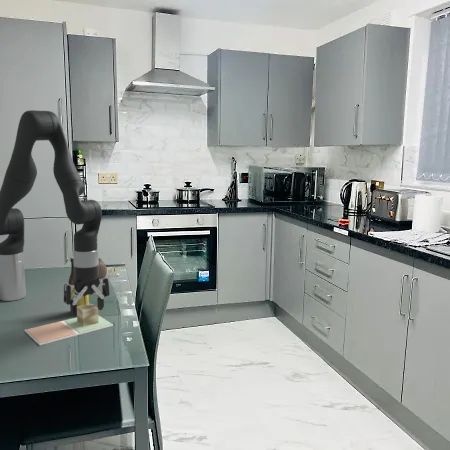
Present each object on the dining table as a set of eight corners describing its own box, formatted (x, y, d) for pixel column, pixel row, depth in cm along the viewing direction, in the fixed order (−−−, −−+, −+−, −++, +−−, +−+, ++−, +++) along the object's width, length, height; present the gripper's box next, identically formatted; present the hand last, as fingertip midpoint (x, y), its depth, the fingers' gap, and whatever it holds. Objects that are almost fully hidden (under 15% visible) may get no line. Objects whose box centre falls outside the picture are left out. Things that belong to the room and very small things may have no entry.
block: (83, 326, 140) (82, 311, 139) (77, 321, 144) (76, 306, 143) (98, 322, 143) (98, 308, 143) (92, 318, 147) (91, 303, 146)
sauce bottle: (82, 307, 158) (81, 253, 154) (93, 312, 154) (91, 256, 150) (66, 312, 153) (63, 256, 149) (76, 317, 149) (74, 259, 145)
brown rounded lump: (90, 276, 195) (89, 257, 193) (106, 275, 197) (106, 256, 195) (90, 281, 188) (90, 261, 187) (107, 280, 190) (107, 260, 189)
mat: (24, 331, 137) (24, 329, 137) (95, 314, 152) (95, 312, 152) (39, 345, 128) (39, 343, 127) (113, 326, 143) (113, 324, 143)
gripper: (101, 257, 148) (102, 304, 151) (59, 264, 139) (61, 314, 141) (112, 262, 142) (113, 311, 145) (68, 269, 133) (70, 321, 136)
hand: (87, 312), depth 143 cm, fingers open, 8 cm apart
